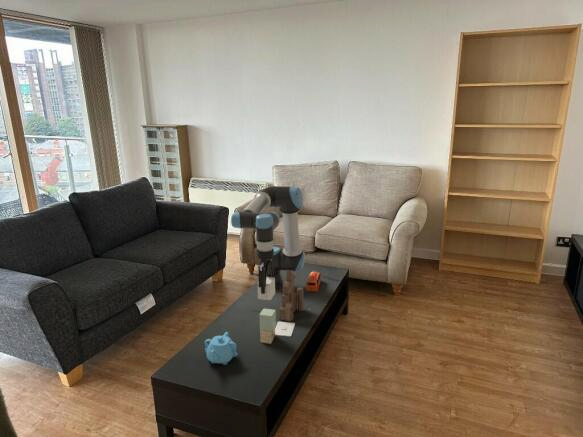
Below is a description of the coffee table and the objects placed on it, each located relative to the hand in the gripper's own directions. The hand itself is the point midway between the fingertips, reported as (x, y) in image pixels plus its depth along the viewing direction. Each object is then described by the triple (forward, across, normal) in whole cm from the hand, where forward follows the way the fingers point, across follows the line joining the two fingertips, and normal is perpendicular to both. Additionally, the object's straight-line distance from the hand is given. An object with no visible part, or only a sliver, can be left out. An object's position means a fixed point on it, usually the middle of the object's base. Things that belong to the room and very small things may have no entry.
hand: (266, 295), depth 187 cm
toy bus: (+23, -61, +9) cm, 66 cm away
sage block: (+17, 0, 0) cm, 17 cm away
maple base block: (+23, 0, 0) cm, 23 cm away
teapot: (+23, +21, -15) cm, 35 cm away
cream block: (0, 0, 0) cm, 0 cm away
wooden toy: (+23, -25, +5) cm, 34 cm away
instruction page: (+23, -10, +5) cm, 26 cm away
